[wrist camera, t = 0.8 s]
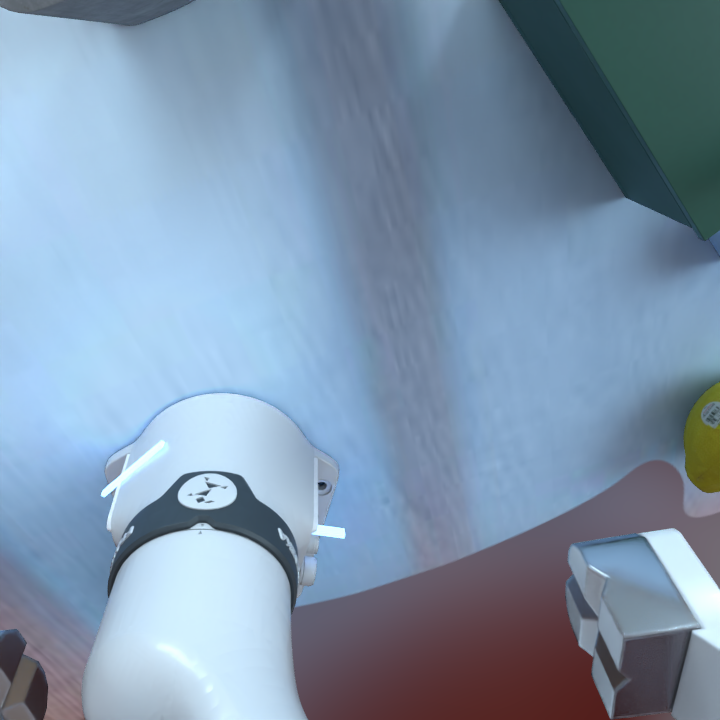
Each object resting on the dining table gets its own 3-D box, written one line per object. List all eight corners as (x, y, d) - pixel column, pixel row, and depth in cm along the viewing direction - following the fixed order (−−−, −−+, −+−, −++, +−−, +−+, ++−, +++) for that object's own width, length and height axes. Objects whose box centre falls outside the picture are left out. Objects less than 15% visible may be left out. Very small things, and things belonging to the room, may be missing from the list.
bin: (783, 74, 44) (888, 80, 36) (625, 198, 47) (692, 228, 39) (653, -197, 37) (750, -262, 29) (477, -32, 40) (522, -51, 32)
